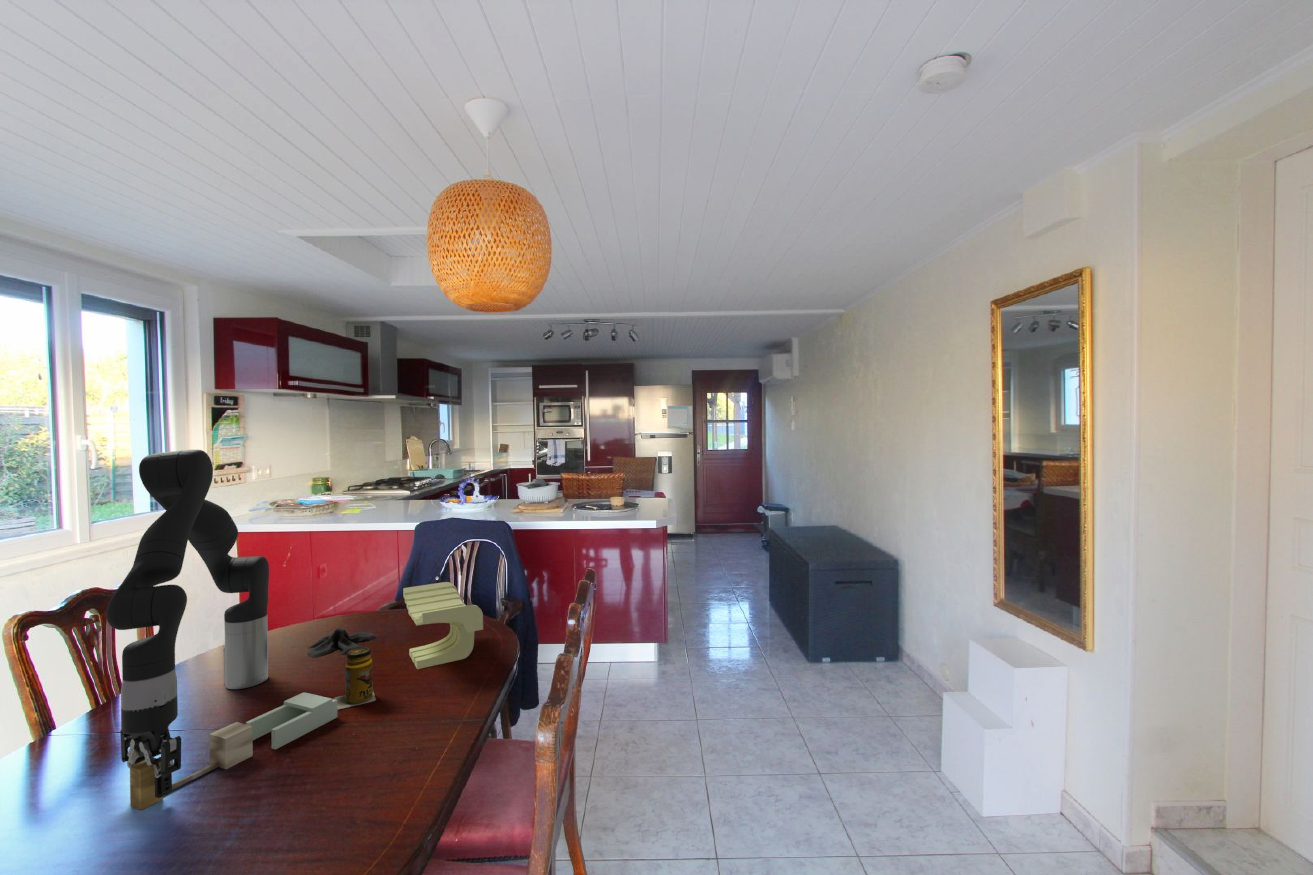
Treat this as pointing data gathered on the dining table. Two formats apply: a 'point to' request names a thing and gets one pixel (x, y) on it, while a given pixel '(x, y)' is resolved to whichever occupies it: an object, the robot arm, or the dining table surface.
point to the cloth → (339, 642)
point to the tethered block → (224, 753)
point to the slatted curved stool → (442, 608)
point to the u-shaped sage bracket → (294, 718)
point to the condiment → (357, 679)
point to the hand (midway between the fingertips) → (151, 790)
